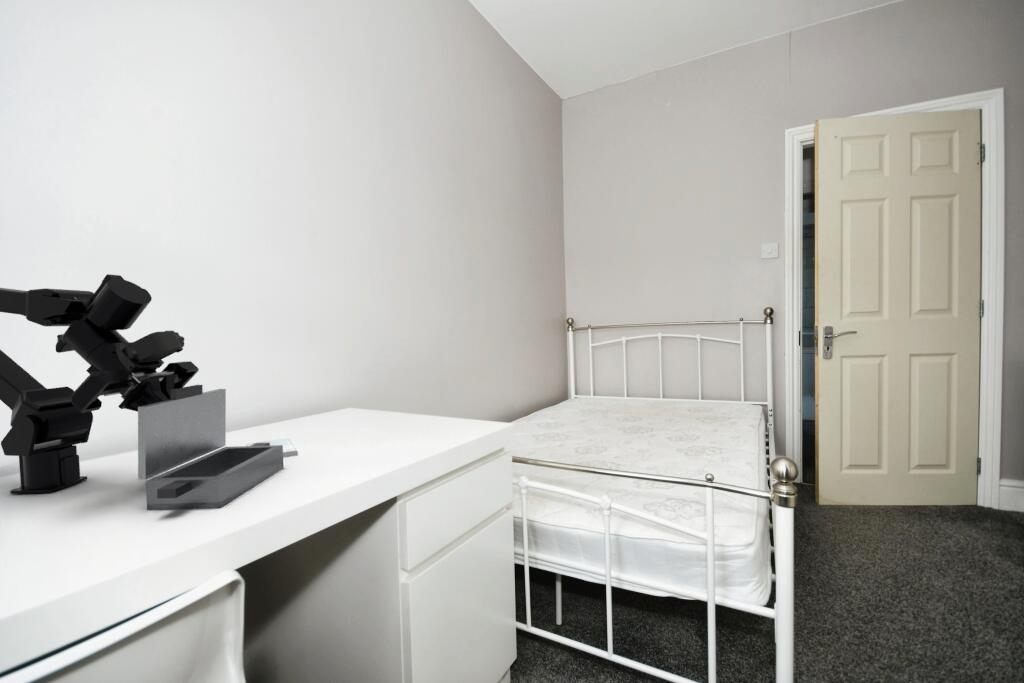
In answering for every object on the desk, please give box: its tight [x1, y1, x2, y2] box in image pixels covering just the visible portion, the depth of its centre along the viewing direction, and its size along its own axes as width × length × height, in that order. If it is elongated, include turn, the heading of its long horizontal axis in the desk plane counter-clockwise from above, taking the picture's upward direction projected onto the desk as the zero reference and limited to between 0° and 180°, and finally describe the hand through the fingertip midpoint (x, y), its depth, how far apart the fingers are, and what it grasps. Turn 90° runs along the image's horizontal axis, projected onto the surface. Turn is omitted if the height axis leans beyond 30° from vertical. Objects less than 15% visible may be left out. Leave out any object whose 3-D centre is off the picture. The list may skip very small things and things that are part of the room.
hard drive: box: [245, 437, 299, 459], centre depth 93 cm, size 2×8×12 cm
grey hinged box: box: [145, 442, 284, 511], centre depth 73 cm, size 10×24×4 cm, turn 0°
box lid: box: [137, 384, 227, 481], centre depth 73 cm, size 12×18×2 cm
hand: (182, 420), depth 73 cm, fingers closed, pressing on box lid
